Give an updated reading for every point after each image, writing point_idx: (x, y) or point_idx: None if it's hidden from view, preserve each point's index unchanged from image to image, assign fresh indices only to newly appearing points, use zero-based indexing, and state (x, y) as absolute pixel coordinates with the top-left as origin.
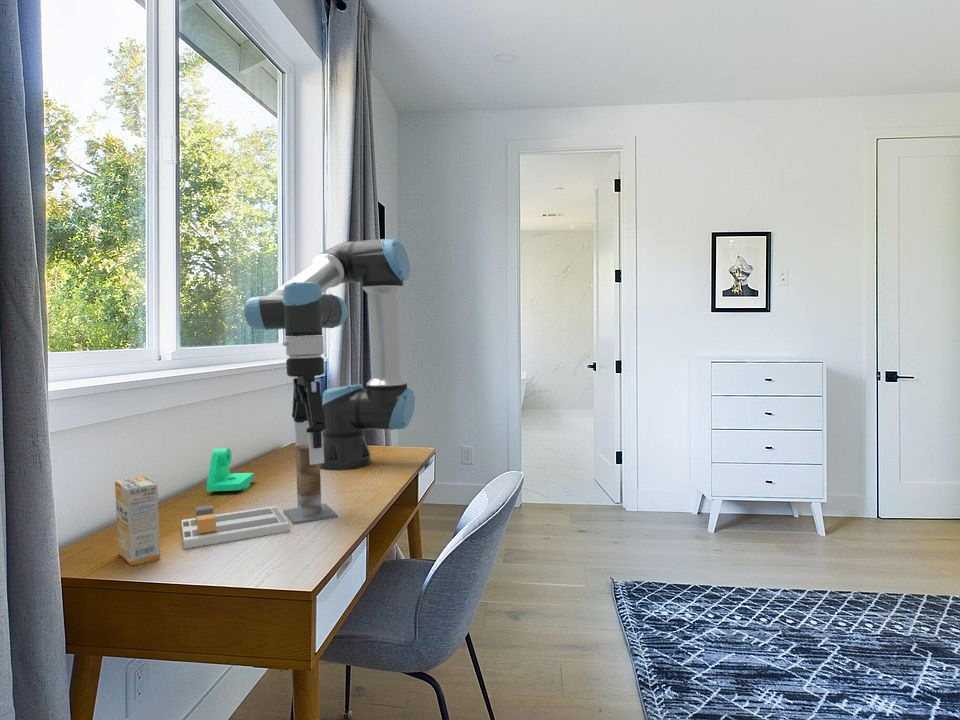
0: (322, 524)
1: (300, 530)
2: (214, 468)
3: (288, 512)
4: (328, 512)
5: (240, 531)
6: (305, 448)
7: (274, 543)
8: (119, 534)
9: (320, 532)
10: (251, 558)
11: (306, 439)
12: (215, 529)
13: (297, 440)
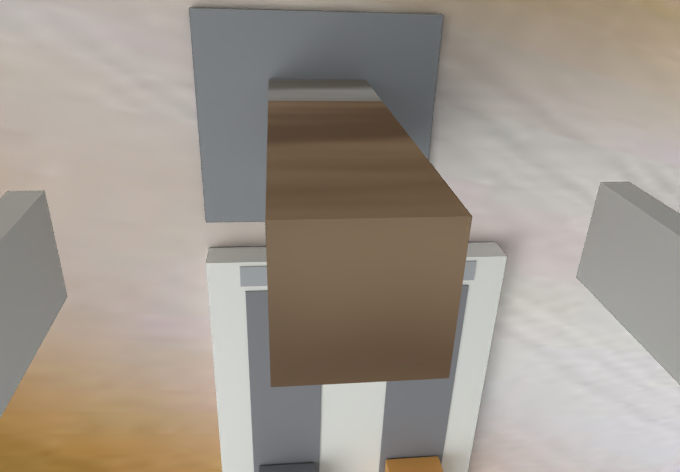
0: (501, 110)
1: (514, 204)
2: None
3: (263, 211)
4: (374, 45)
5: (480, 397)
6: (454, 335)
7: (585, 299)
8: None
9: (593, 143)
10: (658, 363)
11: (2, 271)
12: (438, 461)
13: (24, 357)
